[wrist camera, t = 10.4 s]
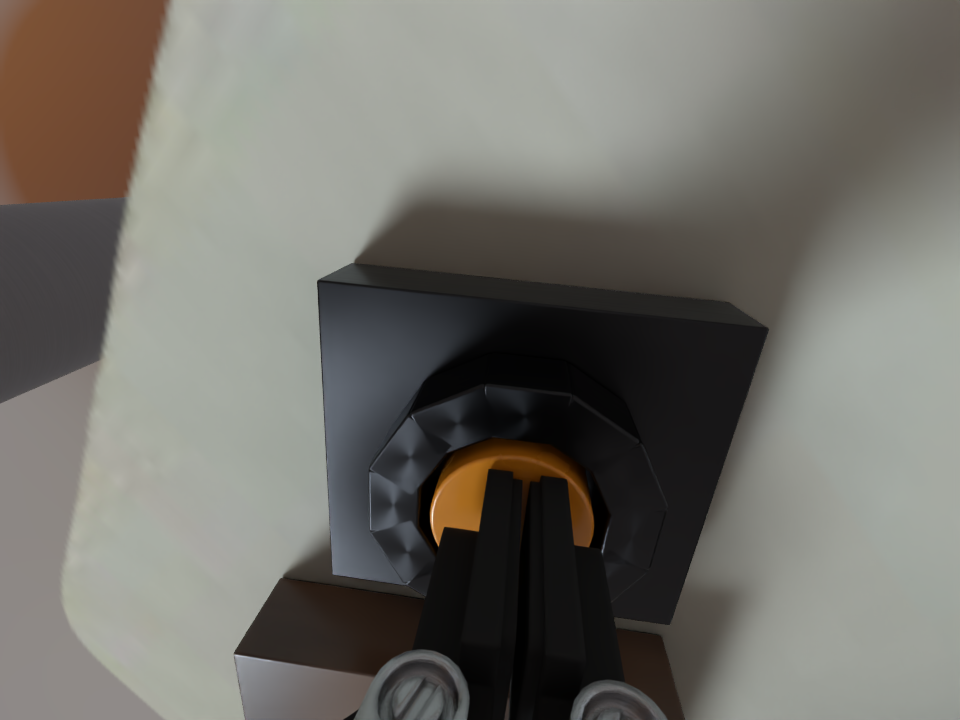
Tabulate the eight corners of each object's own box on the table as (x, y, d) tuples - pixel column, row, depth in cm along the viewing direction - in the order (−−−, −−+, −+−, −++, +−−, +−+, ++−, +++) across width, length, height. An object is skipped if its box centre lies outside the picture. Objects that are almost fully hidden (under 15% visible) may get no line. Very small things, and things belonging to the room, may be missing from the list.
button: (439, 524, 13) (425, 576, 11) (446, 406, 11) (432, 446, 10) (573, 543, 12) (580, 599, 11) (598, 425, 11) (609, 469, 9)
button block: (357, 524, 16) (304, 629, 12) (351, 262, 13) (276, 299, 9) (652, 566, 15) (690, 690, 12) (730, 301, 12) (818, 360, 8)
